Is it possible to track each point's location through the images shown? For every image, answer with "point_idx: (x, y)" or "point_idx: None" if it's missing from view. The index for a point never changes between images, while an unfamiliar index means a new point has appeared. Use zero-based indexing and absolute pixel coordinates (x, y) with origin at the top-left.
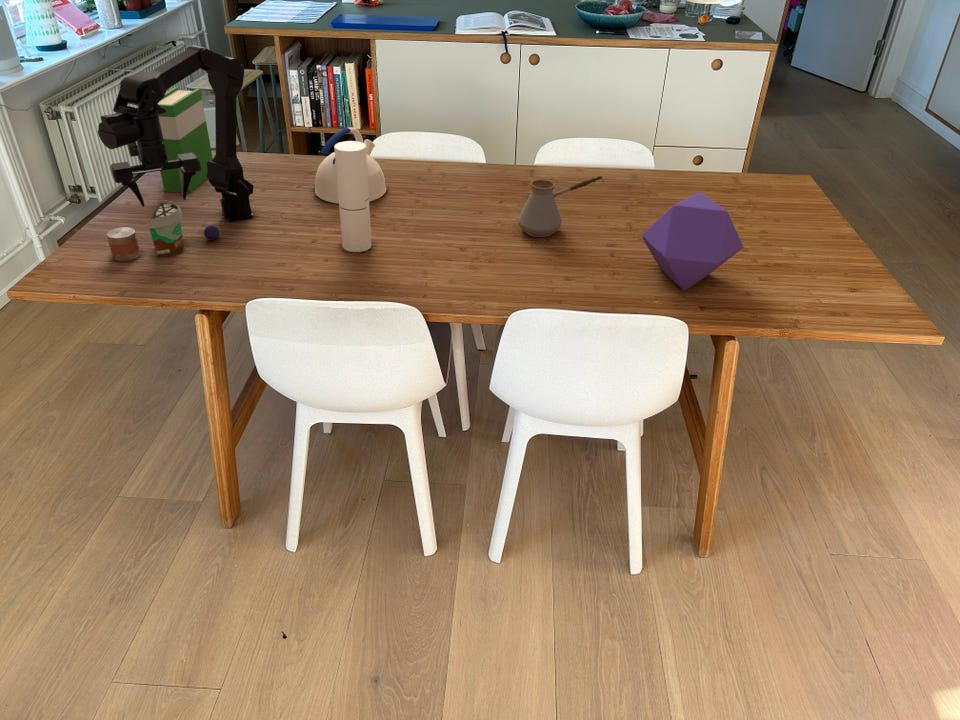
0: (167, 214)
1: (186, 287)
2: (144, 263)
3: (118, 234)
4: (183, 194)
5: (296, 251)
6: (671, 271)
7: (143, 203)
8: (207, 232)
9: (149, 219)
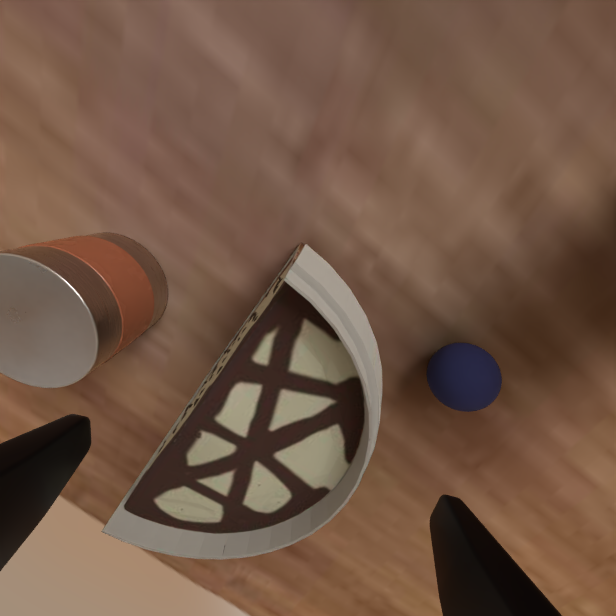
0: (257, 484)
1: None
2: (163, 378)
3: (13, 343)
4: (444, 610)
5: (581, 575)
6: None
7: (59, 486)
8: (439, 397)
9: (117, 535)
